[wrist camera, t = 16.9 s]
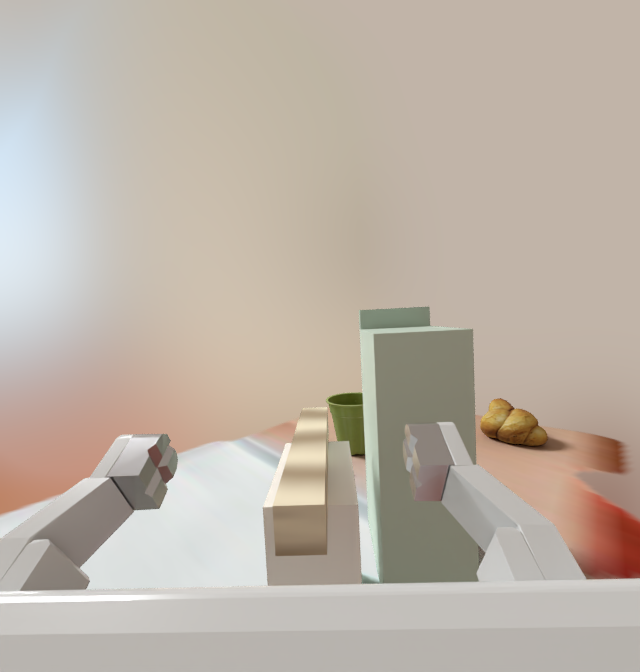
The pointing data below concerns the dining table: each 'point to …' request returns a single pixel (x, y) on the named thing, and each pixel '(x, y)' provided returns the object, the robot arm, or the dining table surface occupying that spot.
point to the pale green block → (388, 434)
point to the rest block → (341, 529)
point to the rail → (304, 489)
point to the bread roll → (512, 425)
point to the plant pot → (349, 419)
